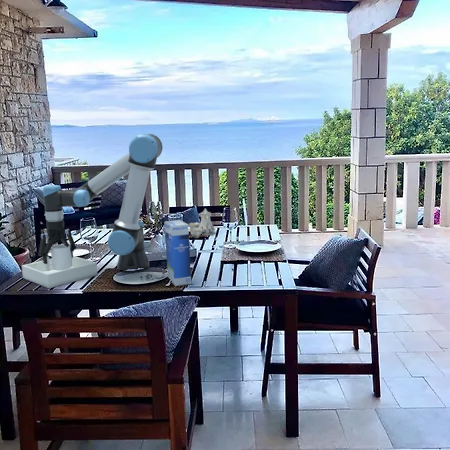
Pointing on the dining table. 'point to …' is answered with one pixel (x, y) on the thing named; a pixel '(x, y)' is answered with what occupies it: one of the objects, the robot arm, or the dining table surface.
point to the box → (59, 272)
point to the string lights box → (178, 252)
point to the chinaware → (202, 225)
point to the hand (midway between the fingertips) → (59, 267)
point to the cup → (60, 257)
